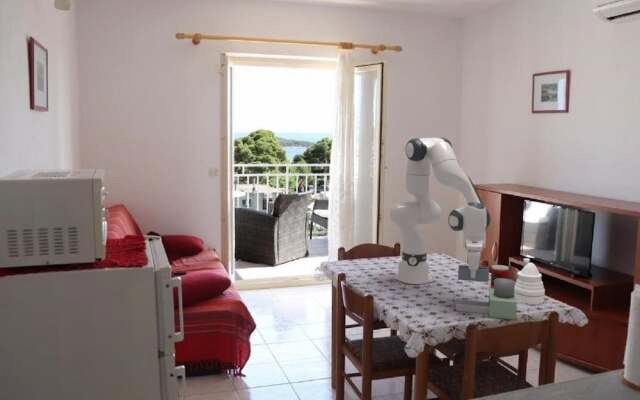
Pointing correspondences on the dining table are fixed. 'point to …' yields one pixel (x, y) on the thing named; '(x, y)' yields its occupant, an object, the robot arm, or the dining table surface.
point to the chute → (481, 274)
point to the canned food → (498, 273)
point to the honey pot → (529, 285)
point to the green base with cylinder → (494, 301)
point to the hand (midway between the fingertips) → (473, 275)
